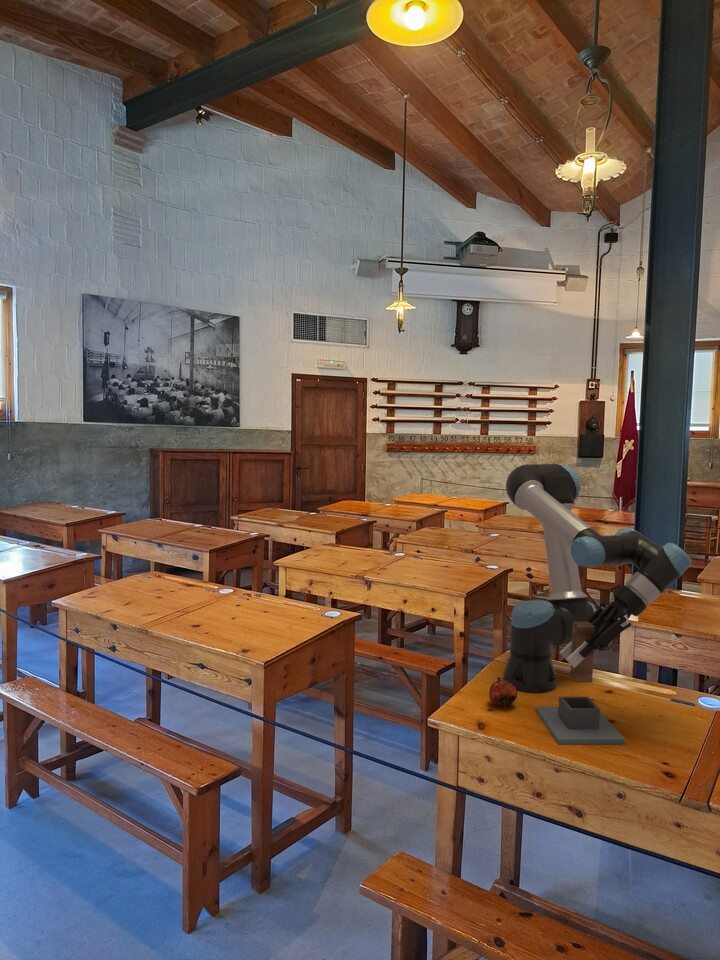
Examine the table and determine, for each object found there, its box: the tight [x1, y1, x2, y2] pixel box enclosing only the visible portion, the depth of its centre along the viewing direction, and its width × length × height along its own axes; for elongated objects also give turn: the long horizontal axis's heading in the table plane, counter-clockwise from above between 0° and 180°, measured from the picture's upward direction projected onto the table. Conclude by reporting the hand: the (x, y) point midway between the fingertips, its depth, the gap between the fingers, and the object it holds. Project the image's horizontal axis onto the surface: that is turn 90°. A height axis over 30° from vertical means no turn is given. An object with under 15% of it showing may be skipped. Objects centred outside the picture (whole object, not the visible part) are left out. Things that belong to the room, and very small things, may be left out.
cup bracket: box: [535, 696, 626, 745], centre depth 167 cm, size 18×16×6 cm
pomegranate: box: [488, 677, 518, 712], centre depth 178 cm, size 7×7×10 cm
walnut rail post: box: [570, 622, 595, 683], centre depth 165 cm, size 4×4×14 cm
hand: (566, 660), depth 165 cm, fingers closed on walnut rail post, 4 cm apart
